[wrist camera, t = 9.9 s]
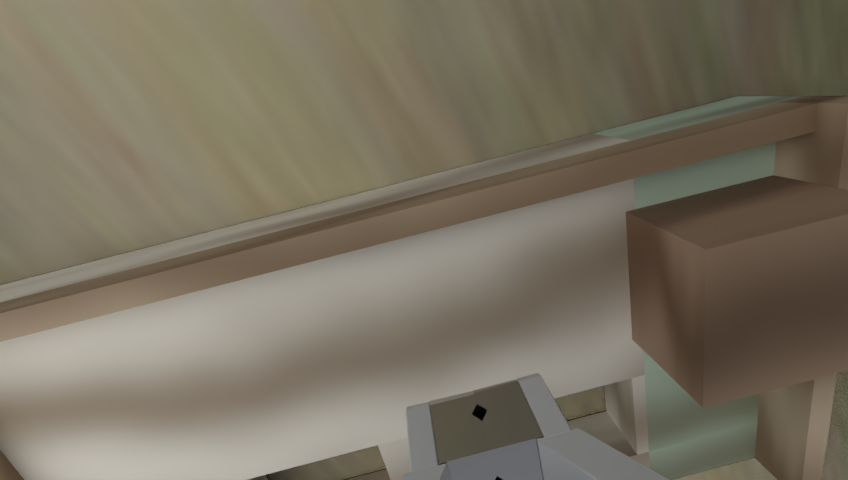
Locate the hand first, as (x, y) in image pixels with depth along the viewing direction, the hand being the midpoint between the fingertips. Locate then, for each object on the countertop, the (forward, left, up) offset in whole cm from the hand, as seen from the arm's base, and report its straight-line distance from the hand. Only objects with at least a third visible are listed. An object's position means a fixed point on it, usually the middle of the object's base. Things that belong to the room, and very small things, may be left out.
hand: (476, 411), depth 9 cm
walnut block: (+1, +9, -5) cm, 10 cm away
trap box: (+4, -2, -8) cm, 9 cm away
